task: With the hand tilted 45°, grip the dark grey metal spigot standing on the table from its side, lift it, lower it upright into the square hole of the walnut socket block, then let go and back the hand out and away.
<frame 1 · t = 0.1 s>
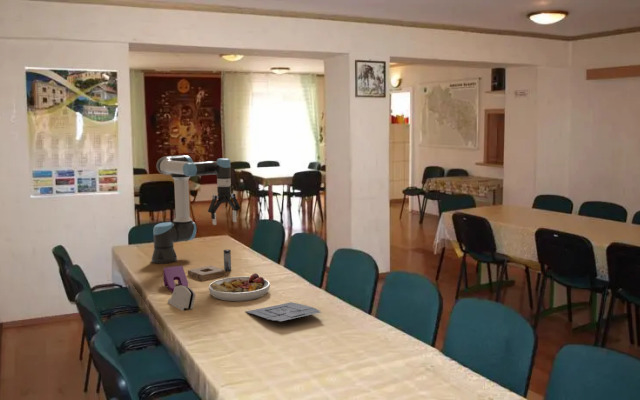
hand: (224, 223, 329), 28 cm above the table, fingers open, 13 cm apart
mounting bracket: (176, 288, 300), on the table
bowl: (239, 294, 289), on the table
spigot: (227, 270, 335), on the table
grey flat panel: (284, 316, 255), on the table
napkin holder: (182, 305, 272), on the table
socket block: (206, 275, 325), on the table
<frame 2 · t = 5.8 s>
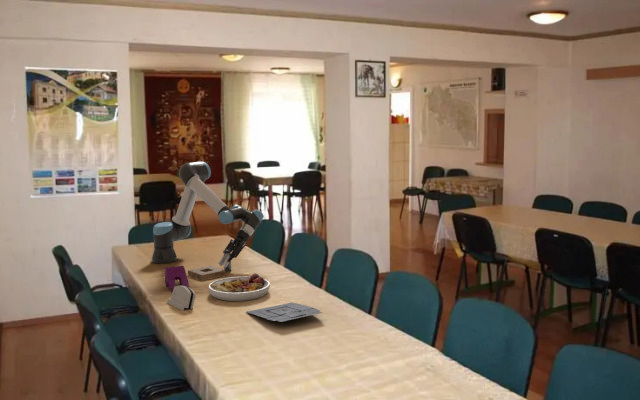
hand: (221, 265, 332), 4 cm above the table, fingers closed on spigot, 4 cm apart
spigot: (227, 270, 335), on the table, touching gripper
everything else where it was.
when the fingers open (5 cm above the table, at t = 11.4 s): spigot drops 1 cm, resting in socket block.
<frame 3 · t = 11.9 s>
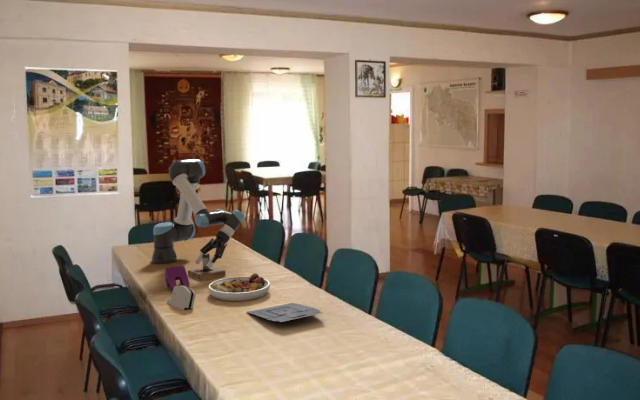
hand: (202, 265, 322), 6 cm above the table, fingers open, 12 cm apart
spigot: (206, 275, 325), resting in socket block
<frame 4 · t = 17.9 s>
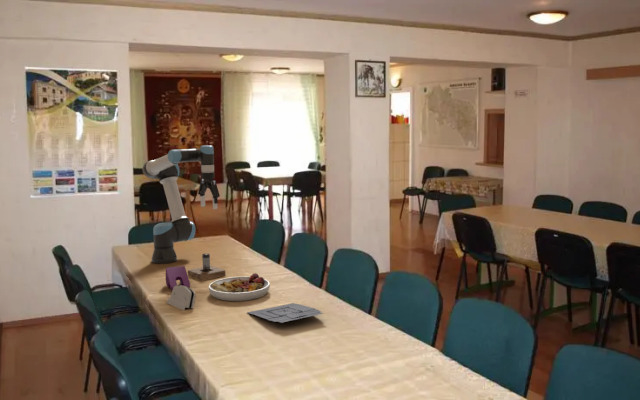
hand: (209, 207, 344), 35 cm above the table, fingers open, 13 cm apart
at the end: spigot 0.0 cm off-centre on the socket block, point 0.0 cm above the socket block's base; spigot tilted 0°; the gripper is holding nothing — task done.
